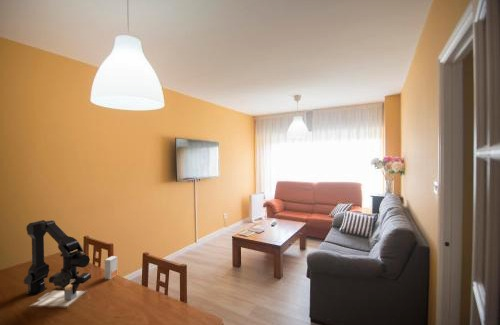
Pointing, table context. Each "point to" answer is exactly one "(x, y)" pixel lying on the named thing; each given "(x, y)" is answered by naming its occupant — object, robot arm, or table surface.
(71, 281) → the plain pale rectangular box
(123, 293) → the table surface
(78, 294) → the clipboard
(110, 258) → the skincare box
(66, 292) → the lidded cardboard box
